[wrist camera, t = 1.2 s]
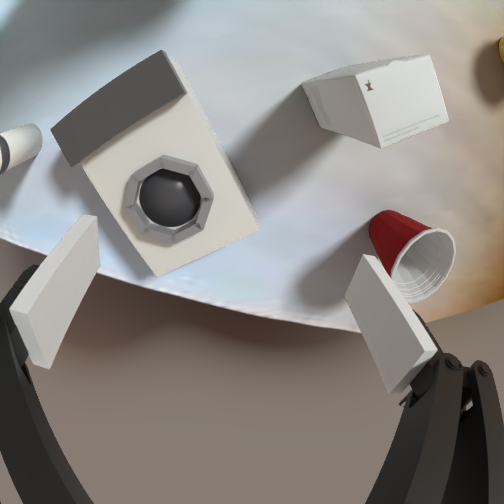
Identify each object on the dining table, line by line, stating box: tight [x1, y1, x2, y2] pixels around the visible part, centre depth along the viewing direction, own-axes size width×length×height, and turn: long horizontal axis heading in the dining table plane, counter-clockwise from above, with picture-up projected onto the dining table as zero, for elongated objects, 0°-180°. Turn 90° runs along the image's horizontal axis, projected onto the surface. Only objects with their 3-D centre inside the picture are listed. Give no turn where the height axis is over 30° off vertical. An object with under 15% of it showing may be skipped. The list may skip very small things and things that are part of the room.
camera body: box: [50, 50, 259, 277], centre depth 31 cm, size 22×14×8 cm, turn 25°
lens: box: [0, 124, 42, 175], centre depth 26 cm, size 5×5×10 cm
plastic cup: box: [369, 210, 456, 304], centre depth 37 cm, size 11×11×12 cm
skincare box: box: [302, 55, 449, 149], centre depth 25 cm, size 8×7×16 cm
